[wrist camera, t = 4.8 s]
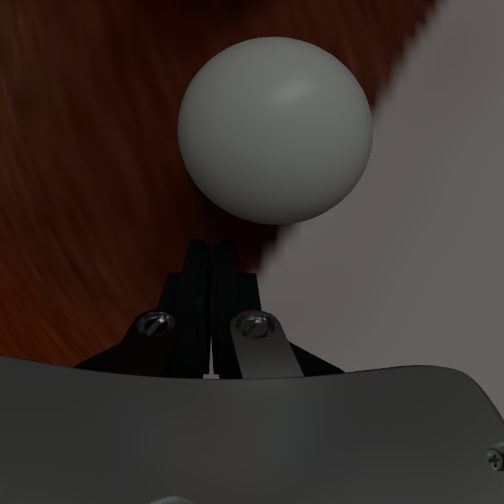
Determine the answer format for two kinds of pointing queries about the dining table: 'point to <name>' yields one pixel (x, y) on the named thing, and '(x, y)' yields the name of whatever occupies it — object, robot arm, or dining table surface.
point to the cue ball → (275, 130)
